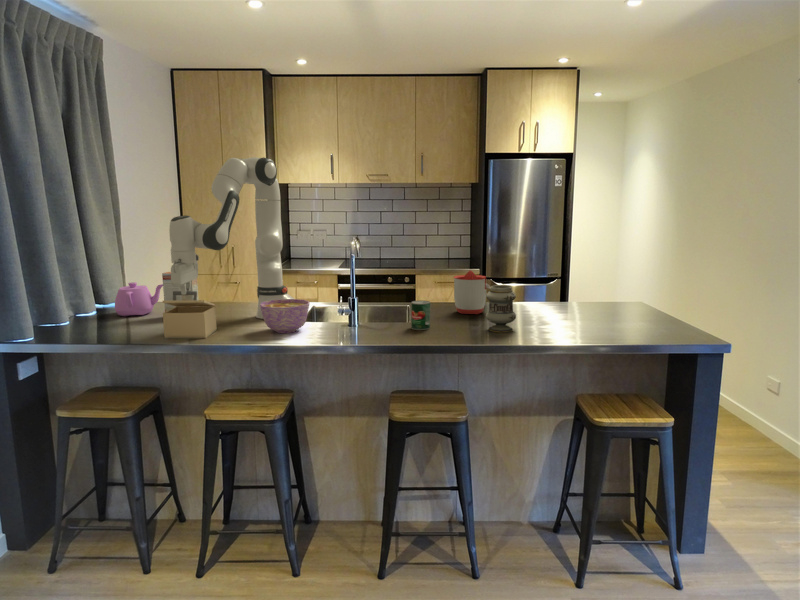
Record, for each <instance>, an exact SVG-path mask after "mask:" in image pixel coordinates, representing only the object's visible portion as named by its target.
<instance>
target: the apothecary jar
mask: <svg viewBox="0 0 800 600" xmlns="http://www.w3.org/2000/svg"><path fill="white" fill-rule="evenodd" d="M490 287H491V289H490V290H489V291H488V292H486V300H488V303H489V304H488V305H489V307H488V312H486V314H485V318H486V319H487V321H488V322H490V323H492V324H495V325H492V326H489V327H488V331H491V332H494V333H510V332H513V330H514V328H512V327H511V326H509V325H507V324H510V323H512V322H514V321H515V320H516V318H517V314H516V313H515V311H514V301H515V300H516V298H517V294H516V293H515V292H514V291H513V288H512V286H511V285H506V284H505V285H504V284H503V285H501V284H498V285H491V286H490Z"/></svg>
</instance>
